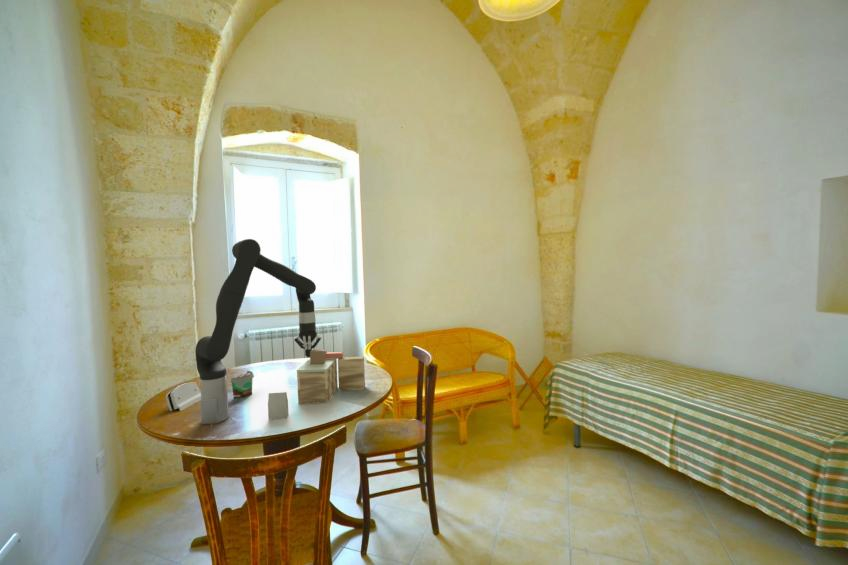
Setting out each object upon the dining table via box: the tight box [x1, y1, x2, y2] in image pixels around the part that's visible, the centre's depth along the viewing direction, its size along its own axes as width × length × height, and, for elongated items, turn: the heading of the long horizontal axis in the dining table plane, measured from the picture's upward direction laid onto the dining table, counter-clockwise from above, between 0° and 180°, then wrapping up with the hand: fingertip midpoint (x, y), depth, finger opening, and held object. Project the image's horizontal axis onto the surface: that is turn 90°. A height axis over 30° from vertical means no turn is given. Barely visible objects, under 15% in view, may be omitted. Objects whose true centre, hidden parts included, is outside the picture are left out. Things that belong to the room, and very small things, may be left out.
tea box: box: [267, 391, 289, 421], centre depth 151 cm, size 4×7×10 cm, turn 97°
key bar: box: [324, 349, 344, 359], centre depth 182 cm, size 2×12×4 cm, turn 91°
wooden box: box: [296, 356, 366, 405], centre depth 175 cm, size 20×26×15 cm
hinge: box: [165, 381, 201, 412], centre depth 169 cm, size 17×5×10 cm, turn 176°
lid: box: [296, 349, 338, 373], centre depth 174 cm, size 20×13×8 cm, turn 1°
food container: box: [230, 370, 255, 400], centre depth 177 cm, size 12×6×10 cm, turn 168°
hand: (308, 356), depth 182 cm, fingers closed
